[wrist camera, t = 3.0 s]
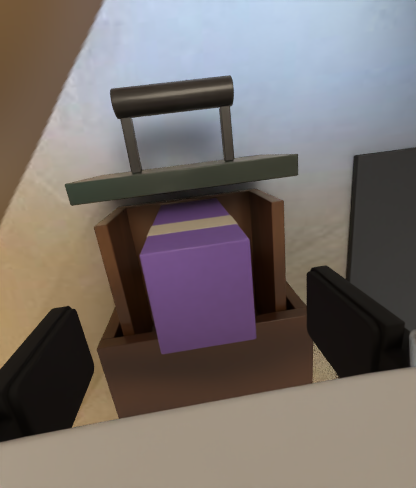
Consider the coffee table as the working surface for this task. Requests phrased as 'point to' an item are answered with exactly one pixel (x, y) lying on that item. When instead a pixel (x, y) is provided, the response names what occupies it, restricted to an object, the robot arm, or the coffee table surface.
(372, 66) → the coffee table surface
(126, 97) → the drawer
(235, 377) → the cabinet
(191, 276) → the snack box
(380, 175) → the mat
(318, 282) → the robot arm
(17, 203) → the coffee table surface
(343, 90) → the coffee table surface
